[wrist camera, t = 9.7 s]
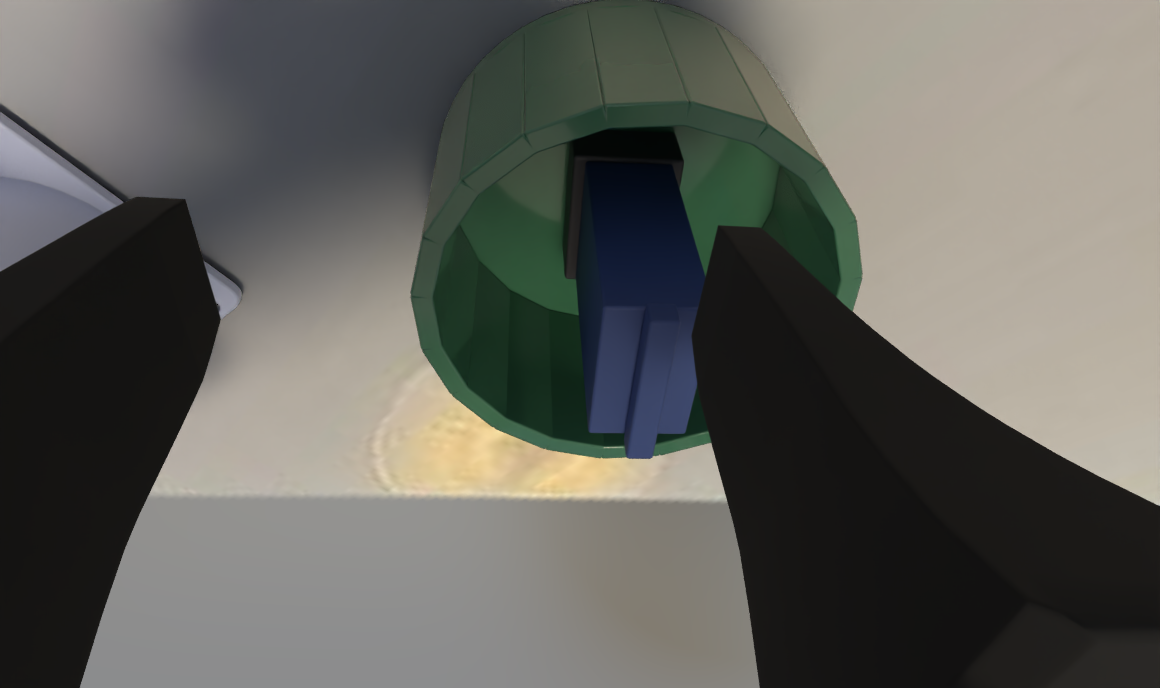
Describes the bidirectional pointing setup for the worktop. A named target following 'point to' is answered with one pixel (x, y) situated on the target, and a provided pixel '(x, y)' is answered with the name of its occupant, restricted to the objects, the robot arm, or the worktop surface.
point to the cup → (539, 186)
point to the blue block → (633, 284)
